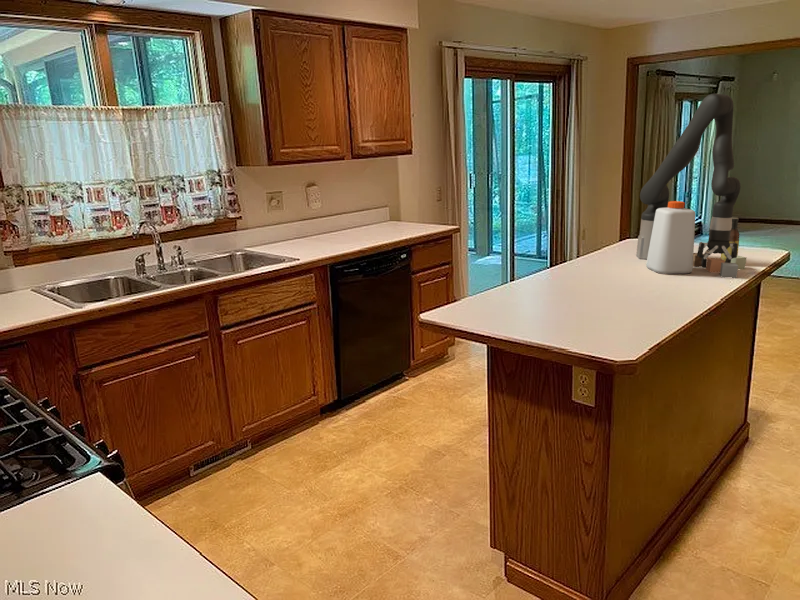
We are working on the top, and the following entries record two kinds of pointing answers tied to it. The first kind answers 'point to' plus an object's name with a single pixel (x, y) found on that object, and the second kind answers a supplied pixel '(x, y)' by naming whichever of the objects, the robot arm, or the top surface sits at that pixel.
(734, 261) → the sage cube
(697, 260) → the walnut cube
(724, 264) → the slate cube
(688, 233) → the plastic bottle
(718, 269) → the terracotta cube
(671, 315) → the top surface
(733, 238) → the sauce bottle
